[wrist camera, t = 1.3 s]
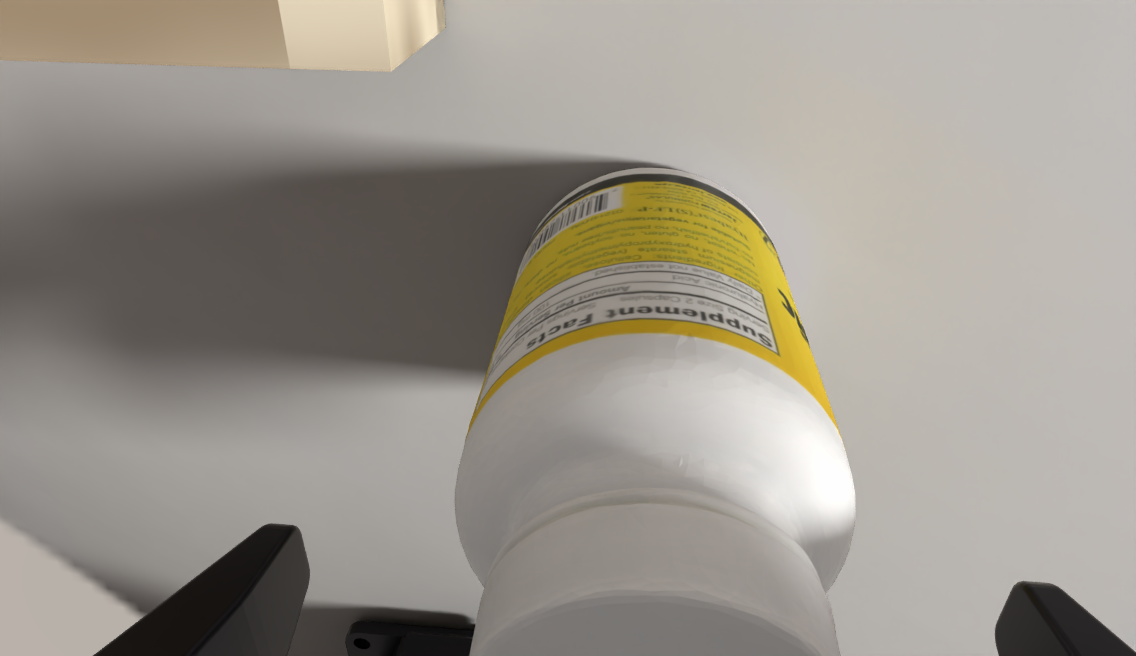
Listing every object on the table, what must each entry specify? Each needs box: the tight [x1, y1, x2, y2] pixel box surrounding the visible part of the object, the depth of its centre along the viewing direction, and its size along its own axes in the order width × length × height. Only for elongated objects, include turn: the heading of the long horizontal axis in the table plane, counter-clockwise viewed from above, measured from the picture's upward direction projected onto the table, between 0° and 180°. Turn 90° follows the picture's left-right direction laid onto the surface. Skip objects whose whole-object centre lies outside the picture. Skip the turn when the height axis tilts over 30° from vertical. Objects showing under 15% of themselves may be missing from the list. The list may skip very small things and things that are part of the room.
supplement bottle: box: [455, 168, 856, 656], centre depth 12 cm, size 5×5×10 cm
